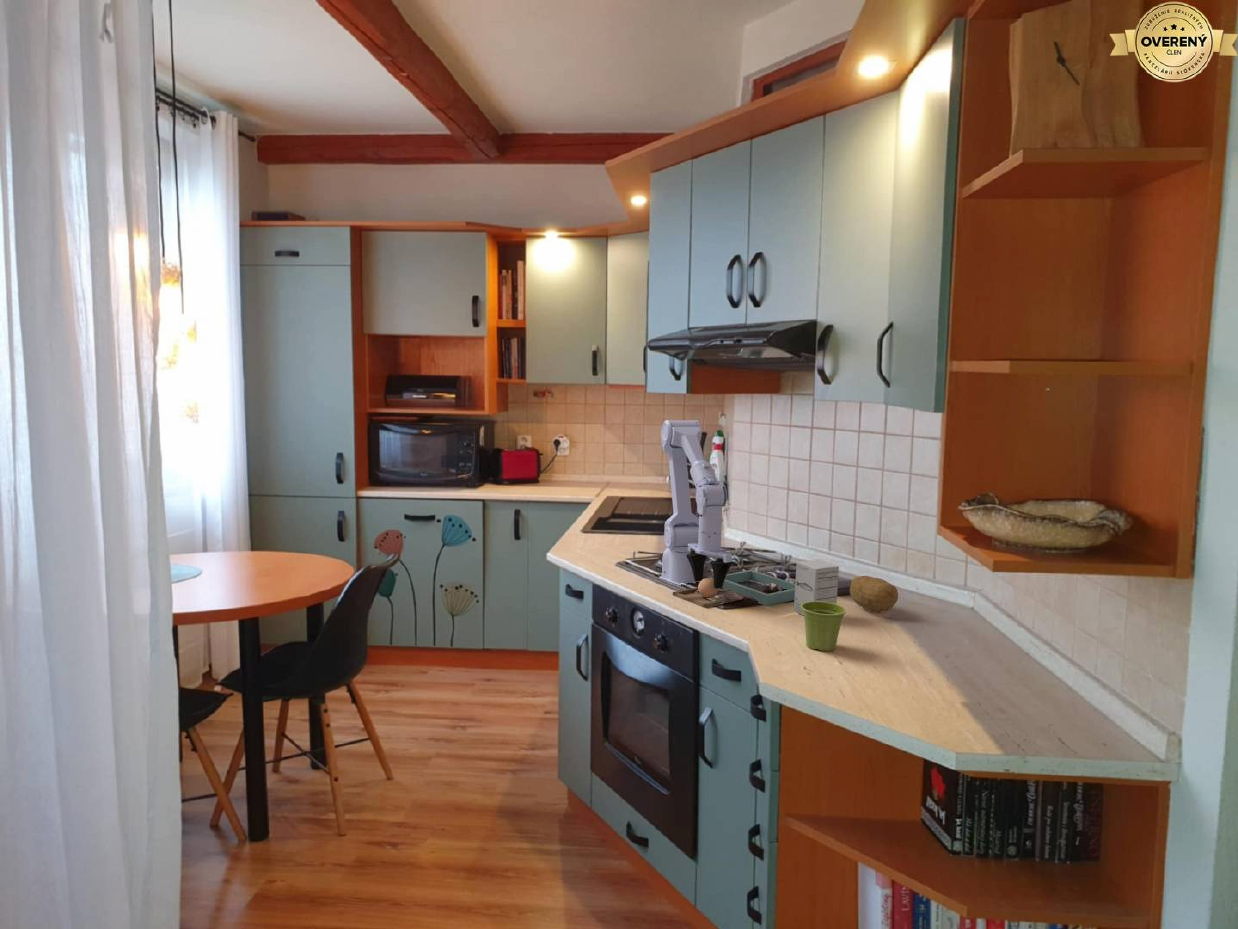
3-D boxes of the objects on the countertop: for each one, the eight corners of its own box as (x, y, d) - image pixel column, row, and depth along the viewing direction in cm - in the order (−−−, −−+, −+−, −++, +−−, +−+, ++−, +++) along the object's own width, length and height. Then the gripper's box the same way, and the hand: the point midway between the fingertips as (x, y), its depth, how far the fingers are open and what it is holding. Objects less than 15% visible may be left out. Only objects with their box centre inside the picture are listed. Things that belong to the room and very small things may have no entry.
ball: (693, 596, 210) (694, 577, 209) (708, 593, 213) (709, 574, 212) (706, 601, 206) (707, 582, 205) (721, 598, 209) (722, 579, 208)
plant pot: (826, 637, 183) (828, 599, 181) (852, 651, 174) (855, 612, 173) (790, 641, 179) (792, 603, 178) (815, 656, 170) (817, 616, 169)
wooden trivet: (672, 596, 211) (672, 592, 210) (709, 589, 218) (709, 585, 218) (705, 609, 200) (705, 604, 200) (743, 601, 208) (743, 597, 208)
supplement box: (792, 612, 200) (795, 561, 198) (816, 608, 204) (819, 558, 202) (812, 621, 194) (815, 568, 192) (837, 617, 197) (840, 565, 195)
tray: (712, 587, 219) (713, 576, 219) (750, 580, 227) (751, 569, 227) (766, 607, 203) (767, 595, 203) (805, 598, 211) (806, 587, 211)
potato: (869, 600, 211) (871, 569, 210) (907, 616, 198) (909, 584, 197) (837, 603, 208) (839, 572, 207) (874, 620, 195) (876, 587, 194)
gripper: (679, 528, 210) (677, 580, 212) (717, 538, 199) (715, 593, 200) (700, 525, 214) (698, 576, 216) (738, 535, 203) (736, 589, 204)
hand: (708, 584), depth 209 cm, fingers open, 7 cm apart
